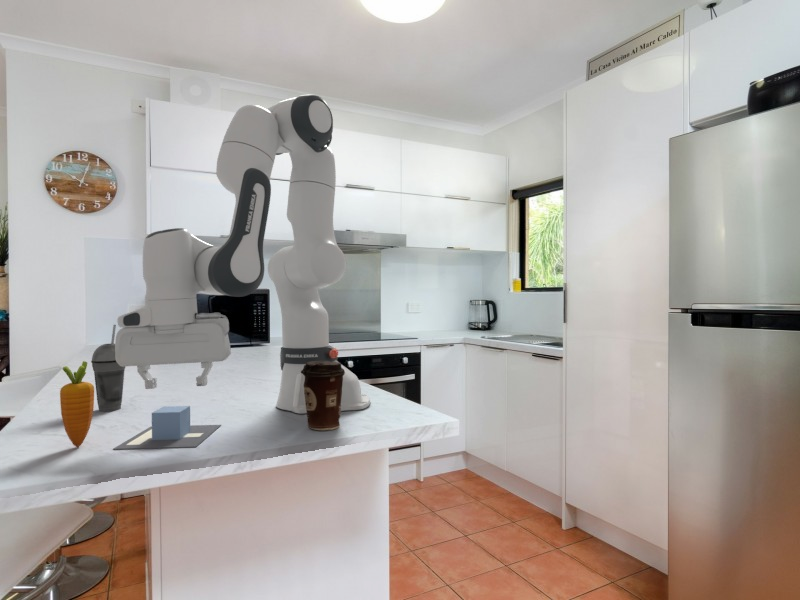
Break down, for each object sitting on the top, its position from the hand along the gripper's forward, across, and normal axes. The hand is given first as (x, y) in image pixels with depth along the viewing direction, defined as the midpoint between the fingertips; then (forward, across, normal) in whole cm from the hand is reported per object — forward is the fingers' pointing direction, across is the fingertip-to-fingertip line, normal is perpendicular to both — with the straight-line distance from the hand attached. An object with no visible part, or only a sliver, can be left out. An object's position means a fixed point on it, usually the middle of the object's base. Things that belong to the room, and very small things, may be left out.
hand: (176, 387), depth 90 cm
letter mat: (+9, +1, +1) cm, 9 cm away
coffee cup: (+10, -27, -3) cm, 29 cm away
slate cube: (+9, +1, +1) cm, 9 cm away
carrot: (+9, +15, +6) cm, 18 cm away
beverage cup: (+9, +25, -23) cm, 35 cm away
